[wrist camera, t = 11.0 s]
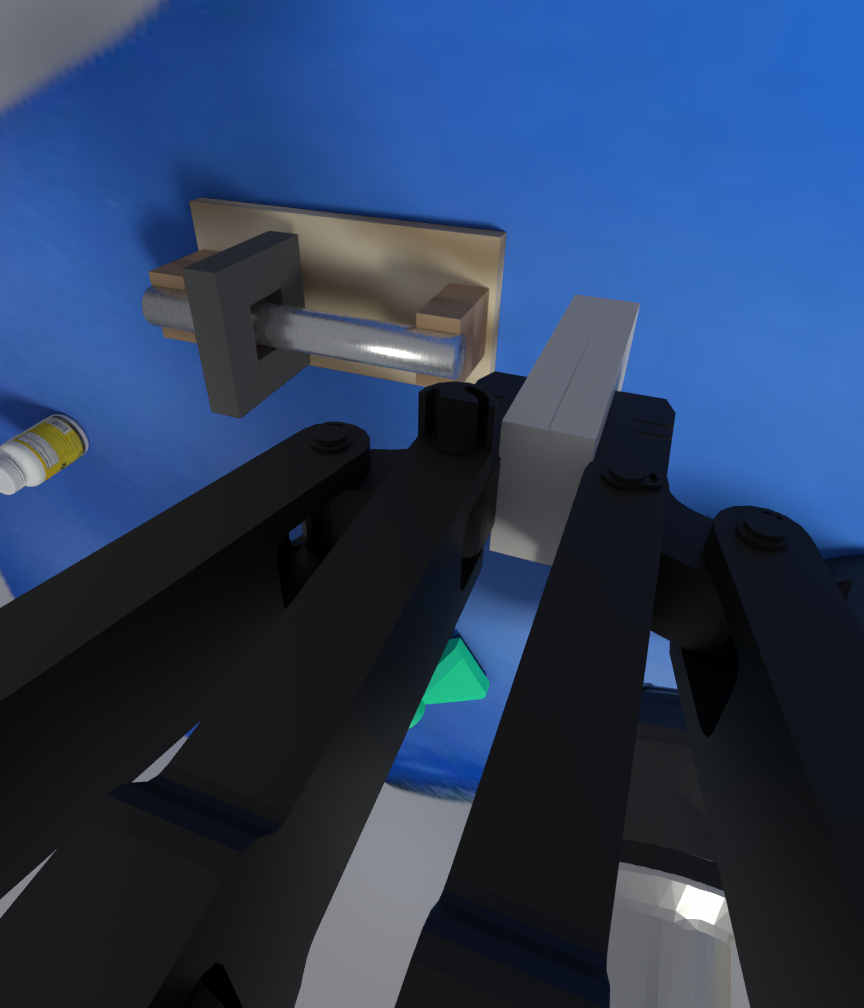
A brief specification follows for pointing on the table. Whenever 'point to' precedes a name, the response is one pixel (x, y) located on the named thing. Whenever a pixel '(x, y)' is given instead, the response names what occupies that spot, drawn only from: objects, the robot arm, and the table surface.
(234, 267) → the collar
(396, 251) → the pipe stand
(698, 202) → the table surface
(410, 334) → the pipe
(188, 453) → the table surface
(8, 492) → the supplement bottle
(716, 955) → the robot arm
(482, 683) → the camera mount
